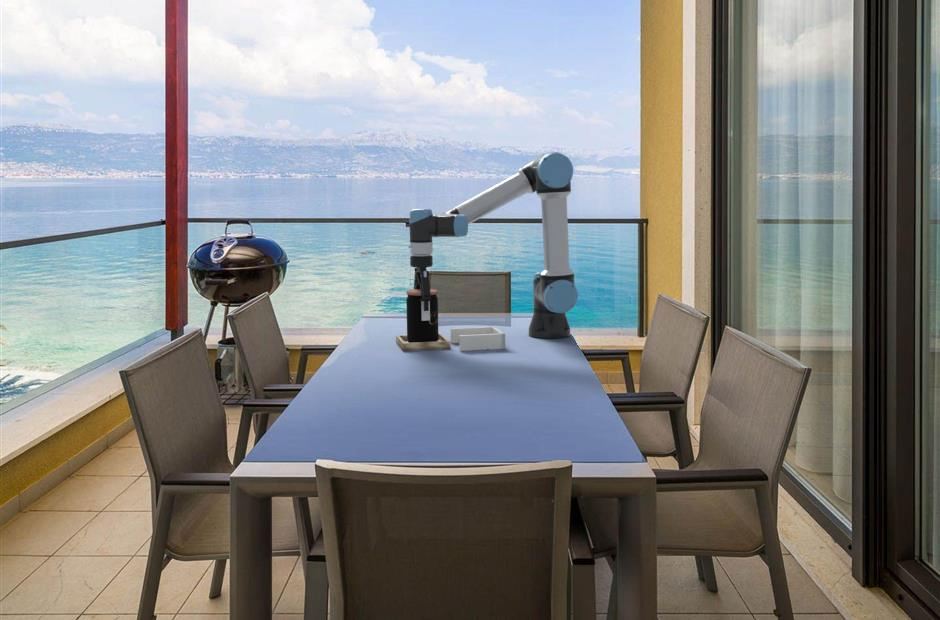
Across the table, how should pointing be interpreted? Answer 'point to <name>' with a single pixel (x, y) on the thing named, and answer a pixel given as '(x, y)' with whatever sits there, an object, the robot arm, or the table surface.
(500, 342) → the frame
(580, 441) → the table surface
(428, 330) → the coffee jar
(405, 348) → the tray
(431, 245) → the robot arm
